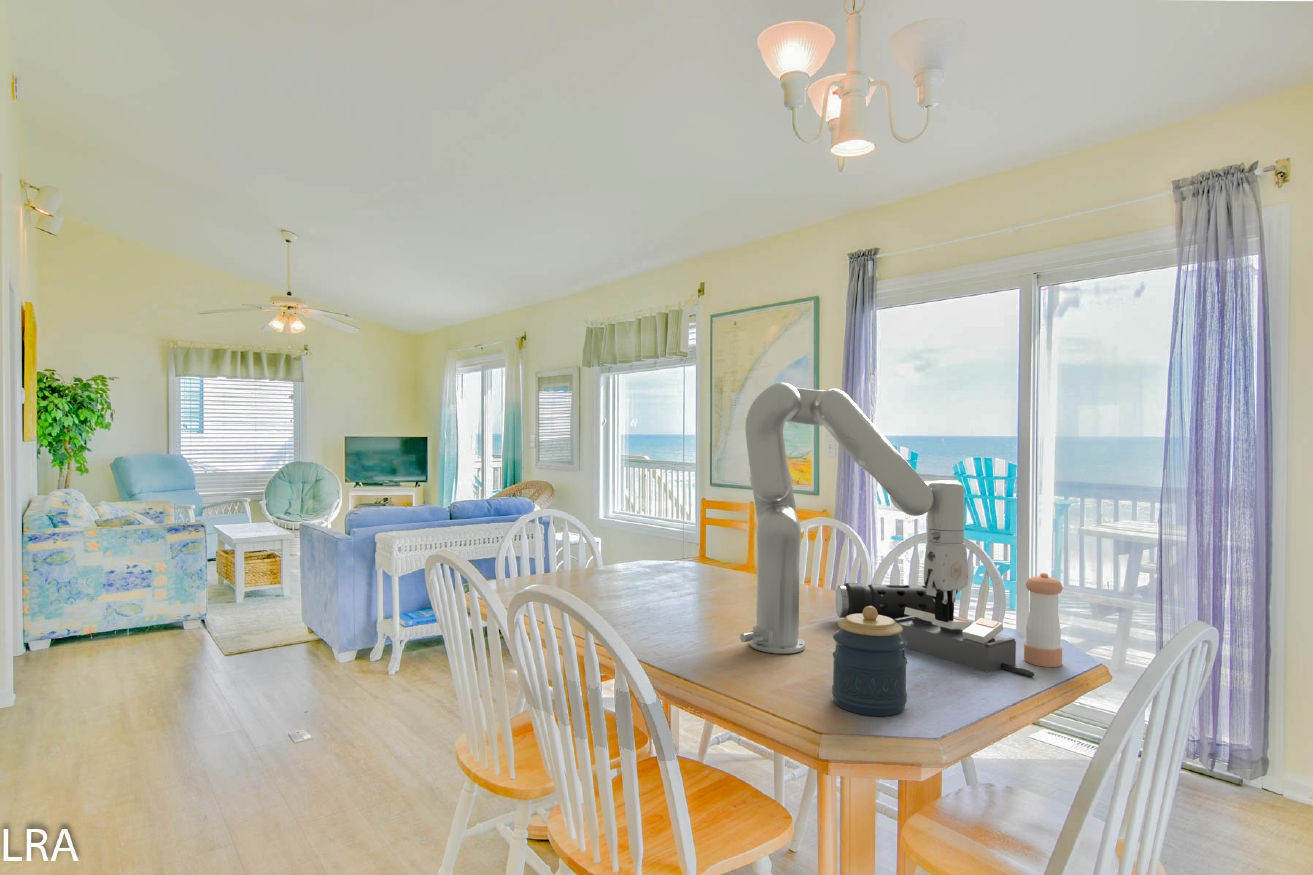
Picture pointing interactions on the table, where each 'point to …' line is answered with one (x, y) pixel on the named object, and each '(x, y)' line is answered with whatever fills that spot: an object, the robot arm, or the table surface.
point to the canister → (869, 664)
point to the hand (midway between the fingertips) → (944, 619)
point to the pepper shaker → (1043, 622)
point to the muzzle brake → (882, 599)
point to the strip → (960, 646)
